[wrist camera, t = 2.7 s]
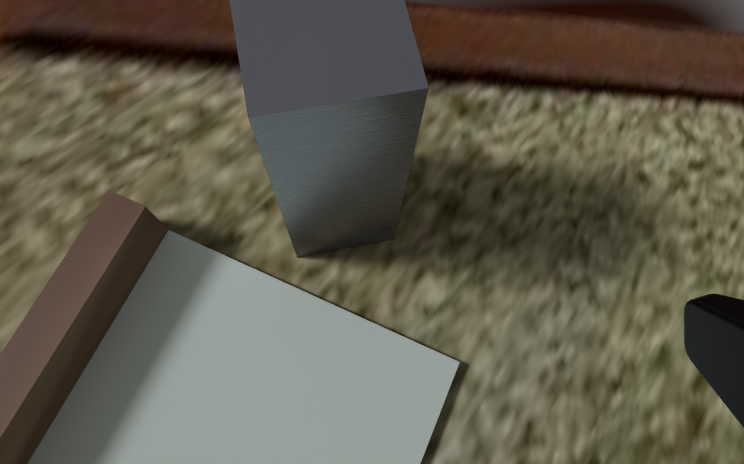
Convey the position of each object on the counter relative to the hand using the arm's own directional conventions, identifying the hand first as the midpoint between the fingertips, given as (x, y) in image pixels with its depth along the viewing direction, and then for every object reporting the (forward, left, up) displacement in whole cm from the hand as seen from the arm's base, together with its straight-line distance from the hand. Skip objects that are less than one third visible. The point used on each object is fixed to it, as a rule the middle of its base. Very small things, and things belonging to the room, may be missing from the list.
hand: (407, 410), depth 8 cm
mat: (+5, +4, -13) cm, 14 cm away
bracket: (+6, -9, -13) cm, 17 cm away
